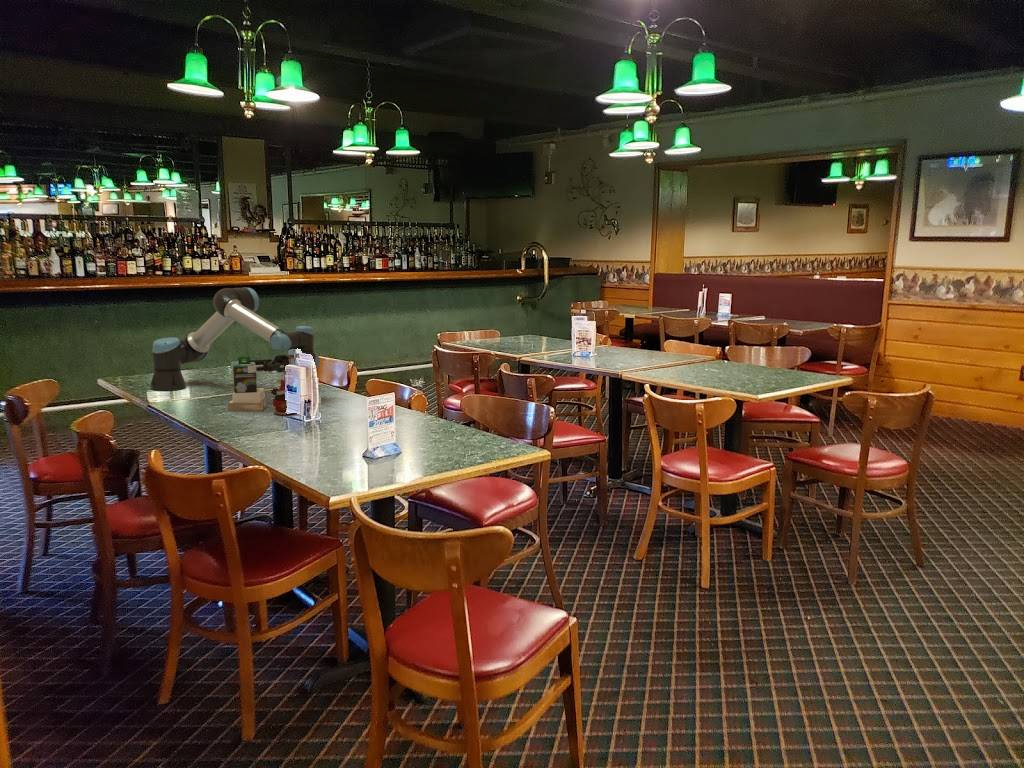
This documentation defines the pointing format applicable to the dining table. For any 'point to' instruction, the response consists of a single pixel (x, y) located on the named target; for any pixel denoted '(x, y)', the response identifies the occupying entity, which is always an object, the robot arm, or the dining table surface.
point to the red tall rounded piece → (279, 397)
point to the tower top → (249, 396)
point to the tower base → (247, 405)
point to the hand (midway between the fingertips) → (239, 367)
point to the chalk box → (244, 376)
